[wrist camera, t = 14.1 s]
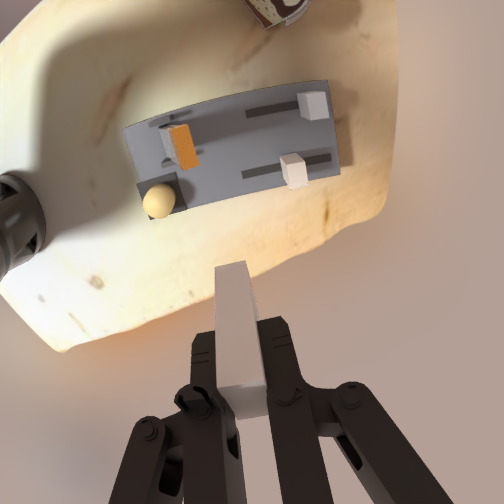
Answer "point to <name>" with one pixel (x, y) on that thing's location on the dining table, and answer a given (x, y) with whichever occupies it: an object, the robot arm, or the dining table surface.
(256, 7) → the food container
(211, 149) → the panel
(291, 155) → the cream slider
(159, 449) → the robot arm
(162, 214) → the button
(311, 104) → the grey slider
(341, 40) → the dining table surface
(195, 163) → the lever
